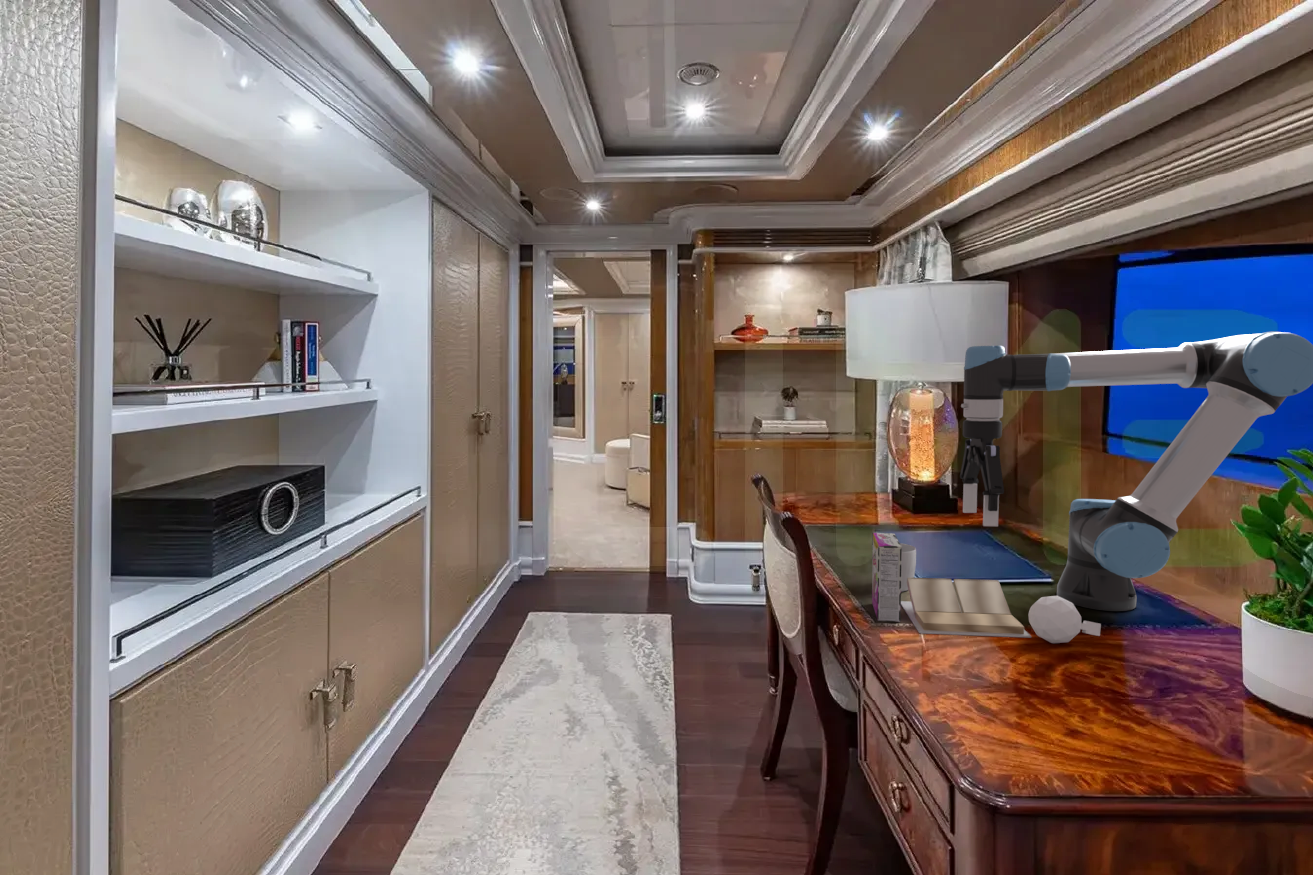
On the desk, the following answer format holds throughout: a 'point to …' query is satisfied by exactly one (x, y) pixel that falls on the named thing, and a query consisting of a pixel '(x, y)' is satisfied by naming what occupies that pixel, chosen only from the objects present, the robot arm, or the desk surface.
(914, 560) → the mug
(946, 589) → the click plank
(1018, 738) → the desk surface
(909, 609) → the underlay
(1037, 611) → the perfume bottle
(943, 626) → the laid plank
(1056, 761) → the desk surface
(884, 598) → the candy bar box
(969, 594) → the panel
